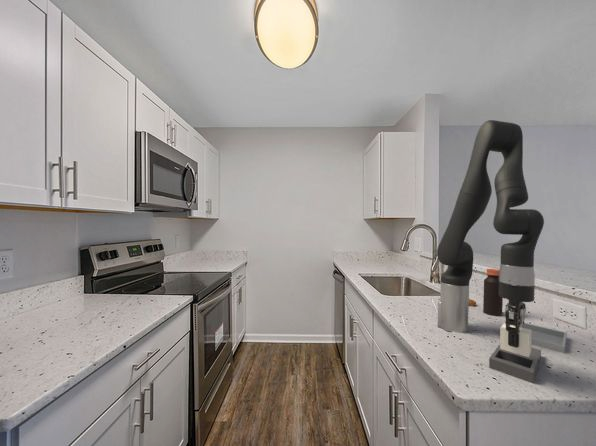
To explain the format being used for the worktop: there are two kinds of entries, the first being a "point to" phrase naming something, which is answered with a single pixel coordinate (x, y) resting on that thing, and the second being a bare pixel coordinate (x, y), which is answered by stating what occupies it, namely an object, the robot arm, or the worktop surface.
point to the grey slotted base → (516, 363)
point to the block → (523, 341)
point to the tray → (547, 337)
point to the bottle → (492, 294)
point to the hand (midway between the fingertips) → (514, 343)
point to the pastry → (472, 303)
